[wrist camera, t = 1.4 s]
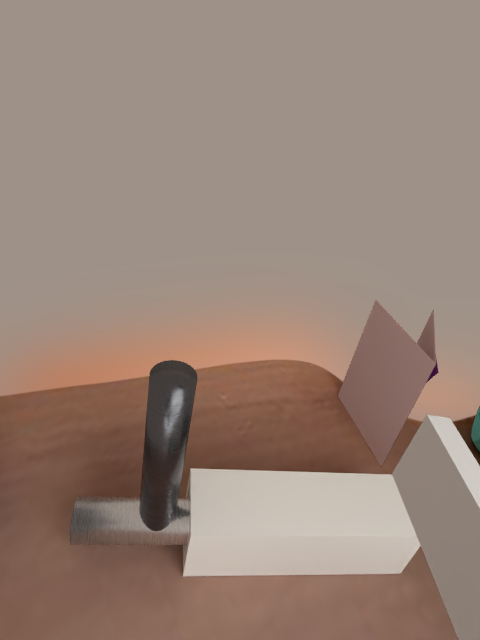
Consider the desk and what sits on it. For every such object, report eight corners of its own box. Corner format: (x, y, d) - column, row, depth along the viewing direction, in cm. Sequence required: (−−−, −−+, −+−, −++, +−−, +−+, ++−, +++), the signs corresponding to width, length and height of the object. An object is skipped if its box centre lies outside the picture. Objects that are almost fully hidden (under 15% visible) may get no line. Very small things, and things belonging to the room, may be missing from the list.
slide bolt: (361, 516, 43) (437, 377, 33) (374, 553, 40) (462, 412, 30) (79, 512, 38) (73, 350, 29) (70, 554, 35) (59, 388, 26)
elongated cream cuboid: (377, 512, 45) (398, 474, 42) (400, 573, 40) (427, 536, 37) (183, 509, 42) (190, 468, 38) (182, 576, 37) (190, 535, 33)
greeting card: (388, 470, 50) (445, 367, 42) (324, 444, 51) (367, 341, 43) (394, 406, 59) (441, 312, 51) (340, 386, 61) (377, 292, 52)
